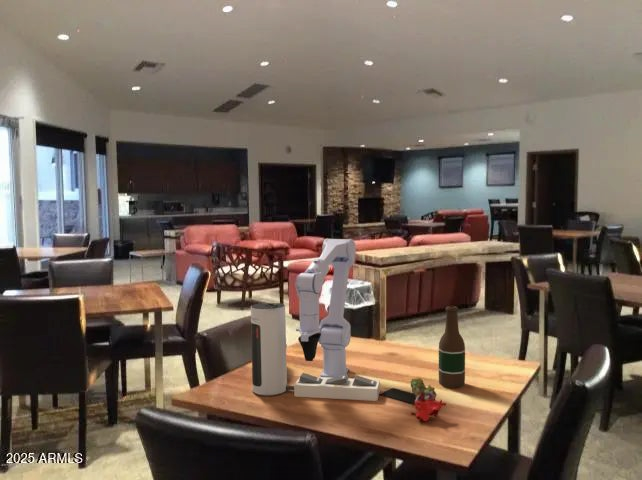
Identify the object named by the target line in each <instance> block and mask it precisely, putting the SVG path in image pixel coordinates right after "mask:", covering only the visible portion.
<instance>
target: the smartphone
mask: <svg viewBox="0 0 642 480" xmlns="http://www.w3.org/2000/svg"><path fill="white" fill-rule="evenodd" d="M379 396H381V397H383V398H387V399H390V400H395V401H398V402H401V403H402V402H403V403H405V404H409V405H412V406H415V405H414V404H415V400H416V396H415V395H414V394H413V392H412V391H410V392H409V391H406V390H403V389H399V388H394V387H392V388H389V389H387V390H385V391H383V392H381V393H379Z"/></svg>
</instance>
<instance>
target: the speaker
mask: <svg viewBox="0 0 642 480" xmlns="http://www.w3.org/2000/svg"><path fill="white" fill-rule="evenodd" d="M286 322H287V321H286V305H285V304H284V303H281V302H277V303H276V302H263V303H256V304H252V305H250V329H251V332H250V333H251V335H250V336H251V338H250V339H251V375H252V376H251V377H252V379H251V380H252V381H251V382H252V392H253V393H254V394H255V395H258V396H267V397H268V396H269V397H272V396H277V395H281V394H284V393H285V392H286V391H287V390H286V386H288V375H287V373H288V372H287V371H288V370H287V336H286V335H287V331H286V329H287V327H286Z"/></svg>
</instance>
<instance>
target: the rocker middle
mask: <svg viewBox="0 0 642 480" xmlns="http://www.w3.org/2000/svg"><path fill="white" fill-rule="evenodd" d="M348 378H349V375H348V374H346V375H344V376H339V377H330V379H328V380H327V382H326V384H331V385H341V384H345V383H347V382H348V380H349V379H348Z"/></svg>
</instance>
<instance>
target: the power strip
mask: <svg viewBox="0 0 642 480" xmlns="http://www.w3.org/2000/svg"><path fill="white" fill-rule="evenodd" d="M317 377H318V378H321V379H322V381H321V384H311V383H305V382H301V381H299V379H300V377H299V378H297V380H296V382H295V383H294V385H287V386H286V391H294V393H293V394H294V397H299V398H301V397H302V398H314V399H315V398H319V399H332V400H333V399H335V400H337V399H338V400H351V401H352V400H354V401H357V400H358V401H370V402H371V401H374V402H377V401H378V399H379V396H380V395H379V394H380V392H381V386H380V385H381V382H380V381H381V379H372V378H371V379H370V378H369V379H370V380H373V381H376V383H375V386H374V387H371V386H360V385H357V384H353V383H354V379H355V378H351V377H350V378H349V377H348V379H349V380H348V382H347V383H345V384H341V385H331V384H326V382H327V380H328V379H330V378H331V377H322V376H317Z"/></svg>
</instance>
